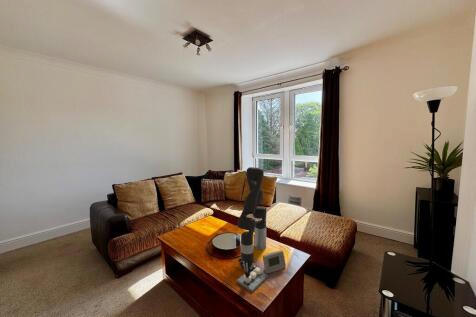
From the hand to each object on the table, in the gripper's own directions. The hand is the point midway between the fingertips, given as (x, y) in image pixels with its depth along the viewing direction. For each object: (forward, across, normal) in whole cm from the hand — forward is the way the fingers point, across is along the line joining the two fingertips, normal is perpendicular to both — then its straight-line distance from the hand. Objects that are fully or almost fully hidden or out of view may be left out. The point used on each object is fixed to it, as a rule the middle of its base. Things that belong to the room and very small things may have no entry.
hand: (247, 276), depth 119 cm
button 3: (+5, 0, +10) cm, 11 cm away
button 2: (+5, 0, +5) cm, 7 cm away
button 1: (+4, 0, 0) cm, 4 cm away
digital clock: (+6, +5, +22) cm, 24 cm away
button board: (+5, 0, +5) cm, 7 cm away
